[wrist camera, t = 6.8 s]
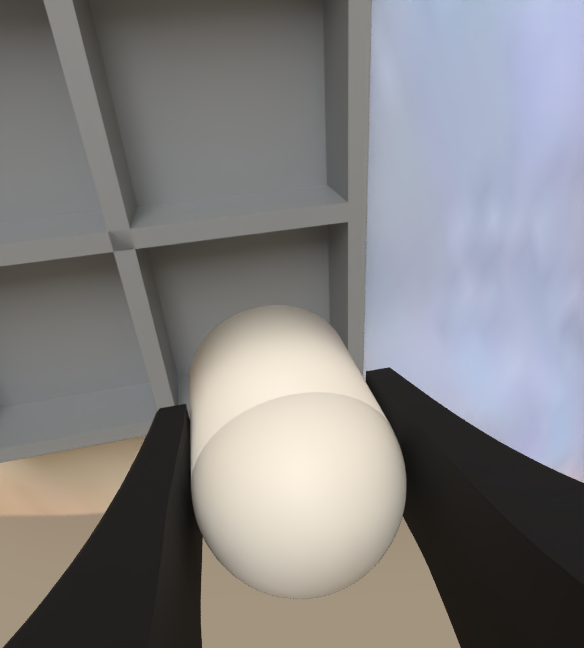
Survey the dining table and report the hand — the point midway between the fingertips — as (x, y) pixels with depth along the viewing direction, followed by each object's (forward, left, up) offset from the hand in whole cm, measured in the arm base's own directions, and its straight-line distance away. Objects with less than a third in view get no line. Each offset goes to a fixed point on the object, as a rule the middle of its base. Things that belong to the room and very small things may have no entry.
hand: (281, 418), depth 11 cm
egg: (0, 0, -2) cm, 2 cm away
